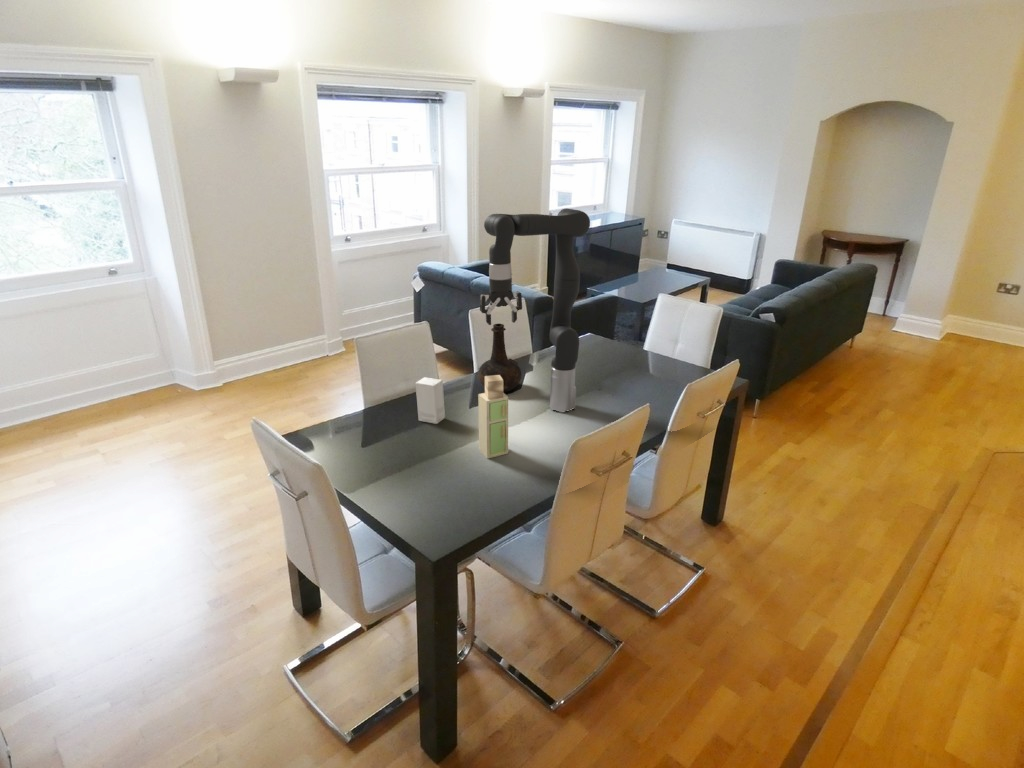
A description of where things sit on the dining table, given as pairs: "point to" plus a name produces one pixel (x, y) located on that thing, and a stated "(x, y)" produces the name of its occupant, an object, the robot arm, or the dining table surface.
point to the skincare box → (430, 400)
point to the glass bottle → (500, 362)
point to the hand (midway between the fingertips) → (501, 323)
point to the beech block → (493, 386)
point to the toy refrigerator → (493, 425)
